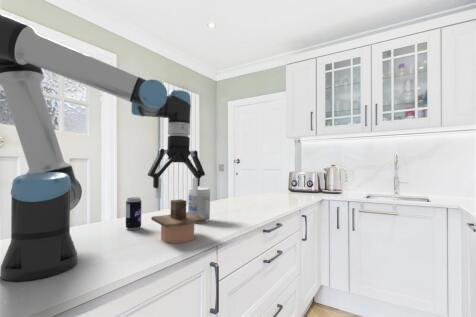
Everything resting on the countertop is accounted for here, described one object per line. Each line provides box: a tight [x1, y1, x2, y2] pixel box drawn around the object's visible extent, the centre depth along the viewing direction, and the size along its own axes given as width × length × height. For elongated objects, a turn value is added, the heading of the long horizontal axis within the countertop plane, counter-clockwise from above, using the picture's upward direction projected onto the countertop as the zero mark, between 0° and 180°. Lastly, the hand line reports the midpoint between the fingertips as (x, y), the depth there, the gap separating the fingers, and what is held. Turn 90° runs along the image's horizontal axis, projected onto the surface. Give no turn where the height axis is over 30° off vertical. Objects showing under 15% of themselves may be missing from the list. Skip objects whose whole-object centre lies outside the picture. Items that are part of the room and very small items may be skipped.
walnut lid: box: [150, 199, 207, 228], centre depth 91 cm, size 14×14×7 cm
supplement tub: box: [187, 186, 211, 224], centre depth 116 cm, size 10×10×15 cm
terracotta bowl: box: [160, 224, 195, 244], centre depth 91 cm, size 11×11×6 cm
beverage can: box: [125, 196, 142, 231], centre depth 103 cm, size 6×6×12 cm
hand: (177, 196), depth 91 cm, fingers open, 13 cm apart
